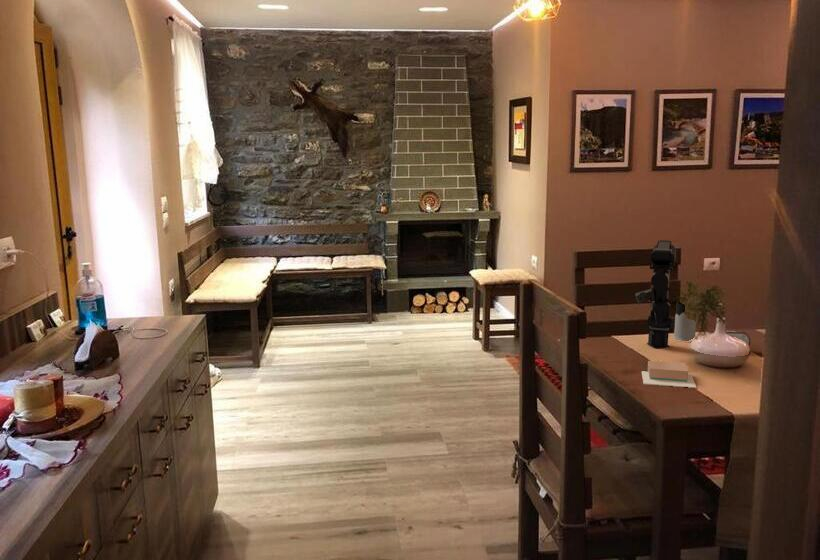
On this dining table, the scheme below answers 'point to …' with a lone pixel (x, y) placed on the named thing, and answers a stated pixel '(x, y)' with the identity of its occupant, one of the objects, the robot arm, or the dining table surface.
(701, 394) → the dining table surface
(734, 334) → the tin
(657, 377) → the tile
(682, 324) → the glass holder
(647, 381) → the mat
